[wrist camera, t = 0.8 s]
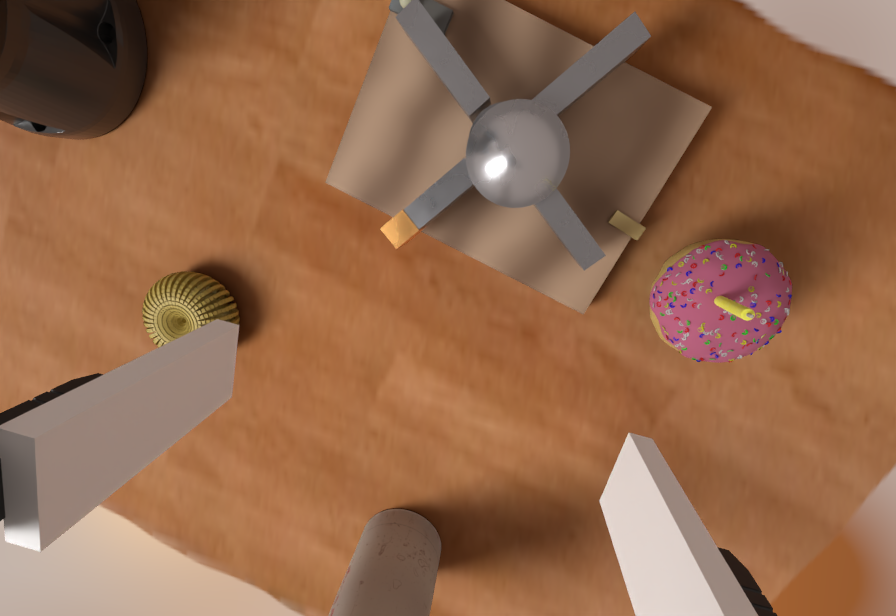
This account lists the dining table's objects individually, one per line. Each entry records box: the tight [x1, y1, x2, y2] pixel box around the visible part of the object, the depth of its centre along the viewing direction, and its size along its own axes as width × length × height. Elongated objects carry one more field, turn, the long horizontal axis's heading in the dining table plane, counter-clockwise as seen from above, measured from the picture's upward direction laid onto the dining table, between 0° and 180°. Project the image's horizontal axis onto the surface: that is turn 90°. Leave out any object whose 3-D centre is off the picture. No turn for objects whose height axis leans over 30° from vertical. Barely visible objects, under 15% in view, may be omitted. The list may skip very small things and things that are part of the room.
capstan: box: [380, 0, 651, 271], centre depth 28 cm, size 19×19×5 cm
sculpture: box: [142, 271, 240, 348], centre depth 38 cm, size 8×4×8 cm
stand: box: [325, 0, 712, 314], centre depth 31 cm, size 22×16×4 cm
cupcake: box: [650, 239, 792, 362], centre depth 28 cm, size 9×8×12 cm
